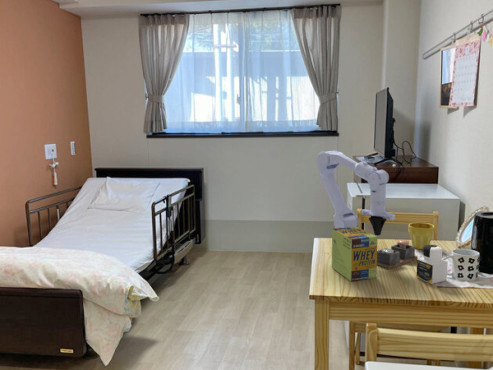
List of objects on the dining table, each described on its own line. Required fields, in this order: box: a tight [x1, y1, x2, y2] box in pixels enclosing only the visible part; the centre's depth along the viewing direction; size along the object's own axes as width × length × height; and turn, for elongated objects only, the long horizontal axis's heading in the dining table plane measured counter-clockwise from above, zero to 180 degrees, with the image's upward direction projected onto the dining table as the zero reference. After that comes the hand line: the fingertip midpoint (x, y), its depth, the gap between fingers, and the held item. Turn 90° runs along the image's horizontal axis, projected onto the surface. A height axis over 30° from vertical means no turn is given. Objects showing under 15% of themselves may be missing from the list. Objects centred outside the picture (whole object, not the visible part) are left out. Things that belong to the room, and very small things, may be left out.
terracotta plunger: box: [396, 239, 410, 249], centre depth 172 cm, size 4×4×4 cm
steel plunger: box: [381, 248, 394, 255], centre depth 166 cm, size 4×4×4 cm
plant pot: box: [407, 221, 435, 250], centre depth 185 cm, size 10×10×10 cm
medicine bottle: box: [416, 244, 448, 285], centre depth 150 cm, size 7×7×12 cm
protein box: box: [331, 226, 378, 282], centre depth 158 cm, size 10×15×16 cm
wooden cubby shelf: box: [377, 243, 418, 270], centre depth 169 cm, size 18×8×5 cm, turn 126°
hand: (377, 234), depth 170 cm, fingers closed
